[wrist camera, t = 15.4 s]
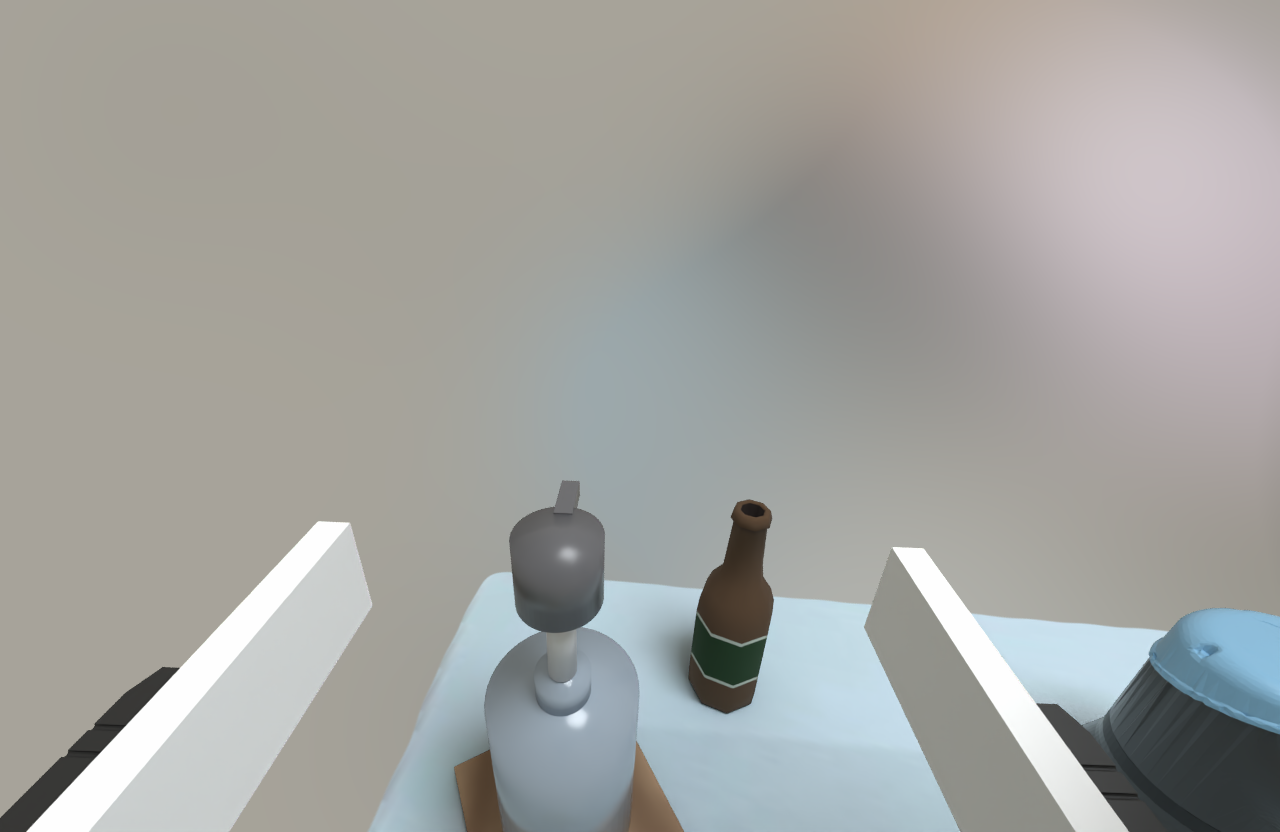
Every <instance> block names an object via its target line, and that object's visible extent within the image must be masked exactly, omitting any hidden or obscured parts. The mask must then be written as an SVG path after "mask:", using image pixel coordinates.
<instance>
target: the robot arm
mask: <svg viewBox="0 0 1280 832" xmlns="http://www.w3.org/2000/svg"><path fill="white" fill-rule="evenodd" d="M371 607H372V602H371V598H370V595H369V591H368V587H367V584H366V580H365V576H364V573H363V569H362V565H361V562H360V558H359V554H358V551H357V547H356V543H355V539H354V536H353V532H352V528H351V525H350V523H342V522H320V521H319V522H317V523H316V524H315V525H314V526H313V528H312V529H311V530H310V531H309V532H308V533H307V534H306V535H305V536H304V537H303V538H302V539H301V540H300V541H299V542H298V543H297V545H296V546H295V547H294V548H293V549H292V550H291V551H290V552H289V553H288V554H287V555H286V556H285V557H284V558H283V559H282V560H281V561H280V563H279V564H278V565H277V566H276V567H275V568H274V569H273V570H272V571H271V572H270V573H269V574H268V576H266V577H265V578H264V580H263V581H262V582H261V583H260V584H259V585H258V586H257V587H256V588H255V589H254V590H253V591H252V593H250V594H249V596H248V597H247V598H246V599H245V600H244V601H243V602H242V603H241V604H240V605H239V606H238V607H237V608H236V609H235V610H234V611H233V613H232V614H231V615H230V616H229V617H228V618H227V619H226V620H225V621H224V622H223V623H222V624H221V625H220V626H219V627H218V629H217V630H216V631H215V632H214V633H213V634H212V635H211V636H210V637H209V638H208V639H207V640H206V641H205V642H204V643H203V644H202V646H201V647H200V648H199V649H198V650H197V651H196V652H195V653H194V654H193V655H192V656H191V657H190V658H189V659H188V661H186V662H185V664H184V665H183V666H182V667H181V668H170V667H162V668H161V669H159V670H158V671H157V672H155V673H154V674H152V675H151V676H149V677H148V678H147V679H145V680H143V681H142V682H141V683H139V684H138V685H136V686H135V687H133V688H132V689H130V690H129V691H127V692H126V693H125V694H124V695H123V696H122V697H121V698H120V699H119V700H118V701H117V702H116V703H115V704H114V705H113V706H112V707H111V708H110V709H109V710H108V711H107V712H106V713H105V714H104V715H103V716H102V717H101V718H100V719H99V720H98V721H97V722H96V723H95V726H94V728H93V729H92V730H88V731H87V732H86V733H85V734H84V735H83V736H82V737H81V738H80V739H79V740H78V741H77V742H76V743H75V744H74V745H73V746H72V747H71V748H70V749H69V750H68V754H67V755H66V756H65V757H61V758H60V759H59V760H58V761H57V762H56V763H55V764H54V765H53V766H52V767H51V768H50V769H49V770H48V771H47V772H46V773H45V774H44V775H43V776H42V777H41V778H40V779H39V780H38V781H37V782H36V783H35V784H34V785H33V786H32V787H31V788H30V789H29V790H28V791H27V792H26V793H25V794H24V795H23V796H22V797H21V798H20V799H19V800H18V801H17V802H16V803H15V804H14V805H13V806H12V807H11V808H10V809H9V810H8V811H7V812H6V813H5V814H4V815H3V816H2V817H1V818H0V832H229V831H230V830H231V828H232V826H233V824H234V823H235V822H236V820H237V818H238V817H239V815H240V814H241V812H242V811H243V809H244V807H245V806H246V804H247V803H248V801H249V800H250V798H251V796H252V795H253V793H254V792H255V790H256V789H257V787H258V785H259V784H260V782H261V781H262V779H263V778H264V776H265V774H266V773H267V771H268V769H269V768H270V766H271V765H272V763H273V762H274V760H275V758H276V757H277V755H278V754H279V752H280V751H281V749H282V747H283V746H284V744H285V743H286V741H287V740H288V738H289V736H290V735H291V733H292V732H293V730H294V729H295V727H296V725H297V724H298V722H299V721H300V719H301V718H302V716H303V714H304V713H305V711H306V710H307V708H308V707H309V705H310V703H311V702H312V700H313V699H314V697H315V695H316V694H317V692H318V691H319V689H320V688H321V686H322V684H323V683H324V681H325V679H326V678H327V677H328V675H329V673H330V672H331V670H332V669H333V667H334V665H335V664H336V662H337V661H338V659H339V658H340V656H341V654H342V653H343V651H344V650H345V648H346V647H347V645H348V643H349V642H350V640H351V638H352V637H353V636H354V634H355V632H356V631H357V629H358V628H359V626H360V624H361V623H362V621H363V620H364V618H365V617H366V615H367V613H368V612H369V610H370V609H371ZM864 628H865V630H866V632H867V634H868V637H869V639H870V641H871V643H872V645H873V647H874V649H875V651H876V654H877V656H878V658H879V660H880V662H881V664H882V666H883V668H884V671H885V673H886V675H887V677H888V679H889V681H890V683H891V685H892V687H893V690H894V692H895V694H896V696H897V698H898V700H899V702H900V704H901V707H902V709H903V711H904V713H905V715H906V717H907V719H908V721H909V723H910V726H911V728H912V730H913V732H914V734H915V736H916V738H917V740H918V743H919V745H920V747H921V749H922V751H923V753H924V755H925V757H926V760H927V762H928V764H929V766H930V768H931V770H932V772H933V774H934V776H935V779H936V781H937V783H938V785H939V787H940V789H941V791H942V793H943V796H944V798H945V800H946V802H947V804H948V806H949V808H950V810H951V813H952V815H953V817H954V819H955V821H956V823H957V825H958V827H959V829H960V832H1280V617H1278V616H1275V615H1270V614H1265V613H1260V612H1256V611H1250V610H1236V609H1230V608H1210V609H1204V610H1199V611H1195V612H1192V613H1190V614H1188V615H1185V616H1184V617H1182V618H1181V619H1180V620H1179V621H1178V622H1177V623H1176V624H1175V625H1174V626H1173V627H1172V628H1171V630H1170V631H1169V632H1168V633H1167V634H1166V635H1165V636H1164V637H1163V638H1160V639H1159V640H1157V641H1156V642H1155V643H1154V644H1153V645H1152V647H1151V649H1150V651H1149V656H1150V657H1149V659H1148V660H1147V661H1146V663H1145V664H1144V665H1143V667H1142V668H1141V669H1140V670H1139V672H1138V673H1137V674H1136V676H1135V677H1134V678H1133V679H1132V681H1131V682H1130V683H1129V685H1128V686H1127V687H1126V688H1125V690H1124V691H1123V692H1122V694H1121V695H1120V696H1119V698H1118V699H1117V700H1116V701H1115V703H1114V704H1113V706H1112V707H1111V708H1110V710H1109V711H1108V712H1107V714H1106V715H1105V716H1104V717H1102V718H1099V719H1097V720H1094V721H1092V722H1089V723H1087V724H1084V725H1081V724H1079V723H1078V722H1077V721H1076V720H1075V719H1074V718H1072V717H1071V716H1070V715H1069V714H1068V713H1067V712H1066V711H1064V710H1063V709H1062V708H1061V707H1060V706H1059V705H1057V704H1038V703H1035V702H1034V700H1033V699H1032V697H1031V696H1030V695H1029V693H1028V692H1027V691H1026V689H1025V688H1024V686H1023V685H1022V684H1021V682H1020V681H1019V680H1018V678H1017V677H1016V675H1015V674H1014V673H1013V671H1012V670H1011V669H1010V667H1009V666H1008V664H1007V663H1006V662H1005V660H1004V659H1003V658H1002V656H1001V655H1000V653H999V652H998V651H997V649H996V648H995V646H994V645H993V644H992V642H991V641H990V640H989V638H988V637H987V635H986V634H985V633H984V631H983V630H982V629H981V627H980V626H979V624H978V623H977V622H976V620H975V619H974V618H973V616H972V615H971V613H970V612H969V611H968V609H967V608H966V607H965V605H964V604H963V602H961V600H960V598H959V597H958V596H957V594H956V593H955V591H954V590H953V589H952V587H951V586H950V585H949V583H948V582H947V581H946V579H945V578H944V576H943V575H942V574H941V572H940V571H939V569H938V568H937V567H936V565H935V564H934V563H933V561H932V560H931V558H930V557H929V556H928V554H927V553H926V552H925V550H924V549H921V548H898V547H892V549H891V552H890V554H889V557H888V560H887V563H886V566H885V569H884V572H883V575H882V577H881V580H880V583H879V586H878V589H877V592H876V594H875V597H874V600H873V603H872V606H871V609H870V612H869V615H868V617H867V620H866V623H865V626H864Z"/></svg>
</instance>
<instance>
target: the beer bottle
mask: <svg viewBox="0 0 1280 832" xmlns="http://www.w3.org/2000/svg"><path fill="white" fill-rule="evenodd" d="M731 518H732V519H733V526H732V530H731V534H730V538H729V543H728V547H727V551H726V555H725V559H724V563H723V564H722V565H721V566H719V567H717V568H716V569H714V570H713V571H712V573H711V574H710V576H709V577H708V579H707V581H706V583H705V586H704V589H703V591H702V593H701V596H700V599H699V603H698V607H697V612H696V620H695V628H694V635H693V643H692V650H691V658H690V665H689V680H690V682H691V684H692V686H693V688H694V689H695V691H696V693H697V695H698V697H699V699H700V701H701V702H702V703H703V704H705V705H708V706H710V707H713V708H715V709H718V710H720V711H722V712H725V713H729V712H732V711H734V710H736V709H739V708H741V707H744V706H746V705H749V704H751V701H752V698H753V695H754V692H755V687H756V683H757V679H758V674H759V670H760V665H761V661H762V657H763V652H764V648H765V643H766V639H767V635H768V630H769V625H770V621H771V616H772V610H773V602H774V599H773V595H772V591H771V588H770V586H769V585H768V583H767V582H766V580H765V579H764V577H763V557H764V549H765V540H766V533H767V529H768V528H770V524H771V521H772V515H771V511H770V510H769V509H768V508H767V507H766V506H765V505H764V504H763V503H760V502H757V501H753V500H745V501H740V502H737V504H736V506H735V508H734V510H733V513H732V515H731Z"/></svg>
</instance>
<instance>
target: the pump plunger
mask: <svg viewBox="0 0 1280 832" xmlns="http://www.w3.org/2000/svg"><path fill="white" fill-rule="evenodd" d="M579 484H580V483H579V481H562V483H561V487H560V491H559V494H558V498H557V502H556V505H555V507H550V508H545V509H541V510H538V511H535V512H533V513H531V514H529V515H528V516H526V517H524V518H522V519H521V520H520V521H519V522H518V523H517V524H516V525H515V526H514V528H513V530H512V532H511V534H510V540H509V542H510V553H511V564H512V575H513V586H514V596H515V606H516V610H517V613H518V615H519V617H520V618H521V619H522V621H523V622H525V623H526V624H527V625H528V626H530V627H532V628H534V629H536V630H539V631H542V632H546V638H547V655H548V672H549V676H550V677H551V678H552V679H553V680H554V681H556V682H566V681H569V680H570V679H572V678H573V677H574V676H575V674H576V672H577V635H576V629H578V628H580V627H582V626H584V625H585V624H587V623H588V622H589V621H591V620H592V619H593V618H594V617H595V616H596V615H597V613H598V612H599V610H600V609H601V606H602V604H603V599H604V543H605V542H604V541H605V532H604V528H603V526H602V524H601V522H600V521H599V520H598V519H597V518H596V517H595V516H593V515H592V514H590V513H589V512H586V511H584V510H581V509H577V506H578V501H579V496H580V491H579V490H580V485H579Z"/></svg>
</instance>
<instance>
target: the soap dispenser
mask: <svg viewBox="0 0 1280 832" xmlns="http://www.w3.org/2000/svg"><path fill="white" fill-rule="evenodd" d="M576 635H577V672H576V674H575V676H574V677H573V678H572V679H570V680H569V681H566V682H556V681H554V680H553V679H552V678H551V677H550V676H549V672H548V655H547V638H546V632H539V633H537V634H534V635H532V636H530V637H528V638H527V639H525V640H523V641H522V642H520V643H519V644H518V645H516V646H515V647H514V648H513V649H512V650H510V651H509V652H508V653H507V654H506V655H505V657H504V658H503V659H502V660H501V661H500V663H499V664H498V666H497V667H496V669H495V671H494V672H493V674H492V676H491V678H490V681H489V684H488V686H487V691H486V695H485V704H484V708H485V720H486V726H487V733H488V739H489V746H490V752H491V759H492V765H493V772H494V778H495V785H496V792H497V798H498V805H499V811H500V818H501V824H502V831H503V832H628V831H629V827H630V822H631V810H632V795H633V780H634V765H635V751H636V736H637V721H638V706H639V681H638V676H637V672H636V669H635V667H634V664H633V663H632V661H631V659H630V657H629V656H628V654H627V653H626V651H625V650H624V649H623V648H622V647H621V646H620V645H619V644H618V643H616V642H615V641H614V640H613V639H611V638H610V637H608V636H606V635H604V634H602V633H600V632H598V631H595V630H592V629H588V628H583V627H580V628H578V629H576Z"/></svg>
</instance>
